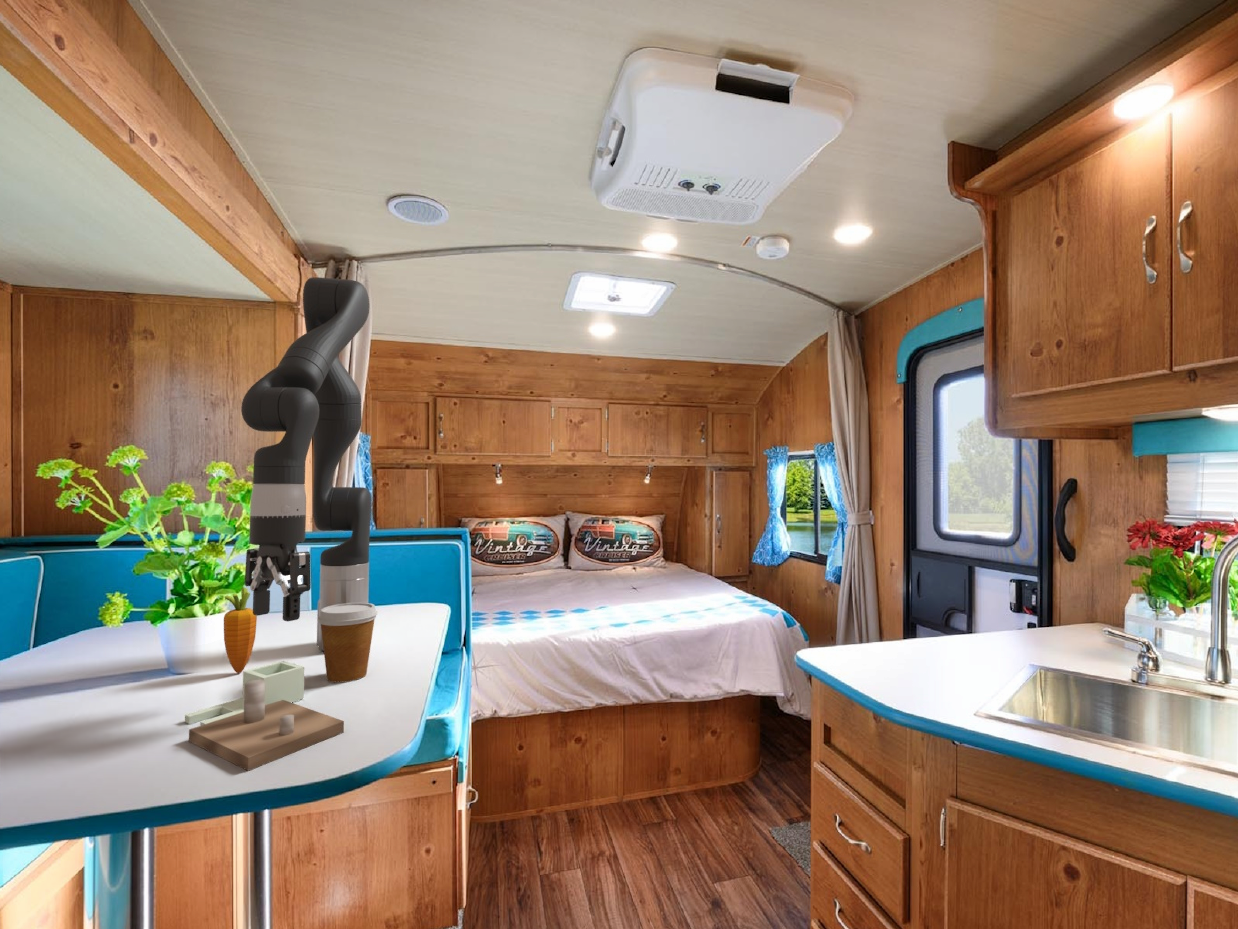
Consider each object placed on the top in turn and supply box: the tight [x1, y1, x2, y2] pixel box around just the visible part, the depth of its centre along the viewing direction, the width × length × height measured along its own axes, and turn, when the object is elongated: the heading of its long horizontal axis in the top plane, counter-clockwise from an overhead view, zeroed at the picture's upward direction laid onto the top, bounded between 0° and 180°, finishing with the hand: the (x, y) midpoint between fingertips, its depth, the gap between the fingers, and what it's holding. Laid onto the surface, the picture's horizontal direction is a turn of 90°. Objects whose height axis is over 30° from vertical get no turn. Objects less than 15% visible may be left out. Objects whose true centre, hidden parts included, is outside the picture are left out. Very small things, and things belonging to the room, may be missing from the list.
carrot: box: [223, 587, 258, 675], centre depth 100 cm, size 5×5×15 cm
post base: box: [188, 680, 345, 772], centre depth 75 cm, size 15×12×6 cm
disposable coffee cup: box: [318, 602, 378, 683], centre depth 99 cm, size 10×10×12 cm
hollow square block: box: [184, 660, 305, 726], centre depth 84 cm, size 14×6×5 cm, turn 149°
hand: (275, 617), depth 87 cm, fingers open, 8 cm apart
